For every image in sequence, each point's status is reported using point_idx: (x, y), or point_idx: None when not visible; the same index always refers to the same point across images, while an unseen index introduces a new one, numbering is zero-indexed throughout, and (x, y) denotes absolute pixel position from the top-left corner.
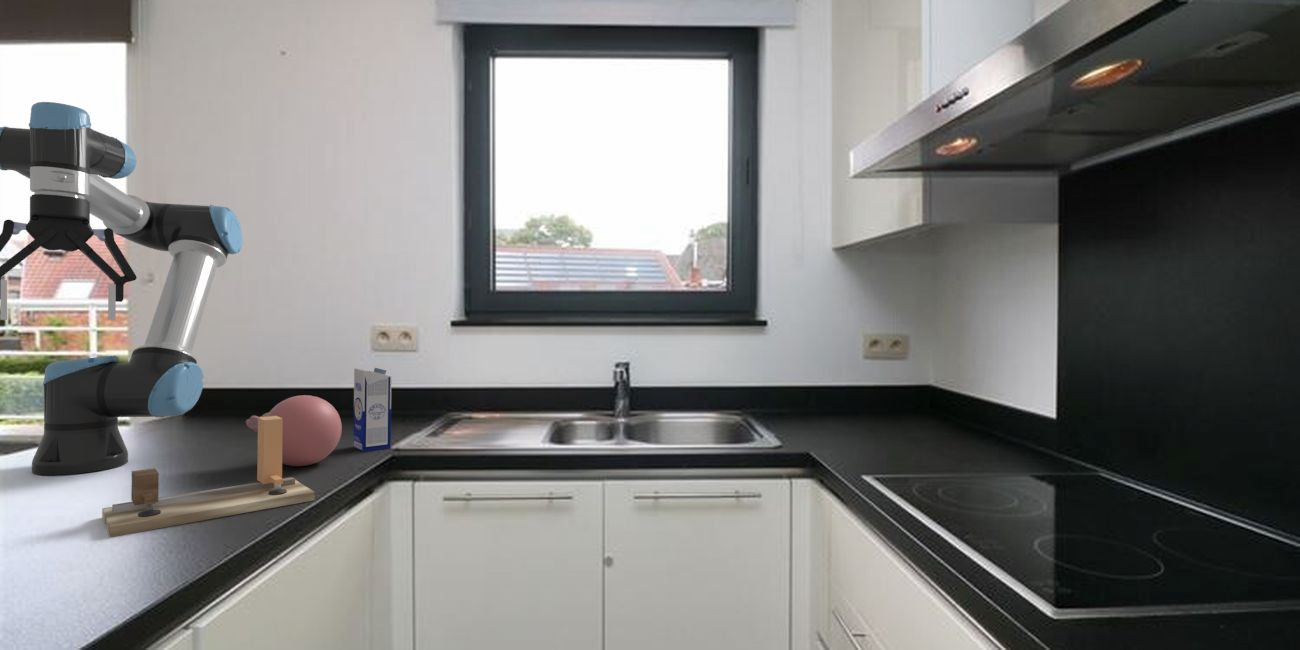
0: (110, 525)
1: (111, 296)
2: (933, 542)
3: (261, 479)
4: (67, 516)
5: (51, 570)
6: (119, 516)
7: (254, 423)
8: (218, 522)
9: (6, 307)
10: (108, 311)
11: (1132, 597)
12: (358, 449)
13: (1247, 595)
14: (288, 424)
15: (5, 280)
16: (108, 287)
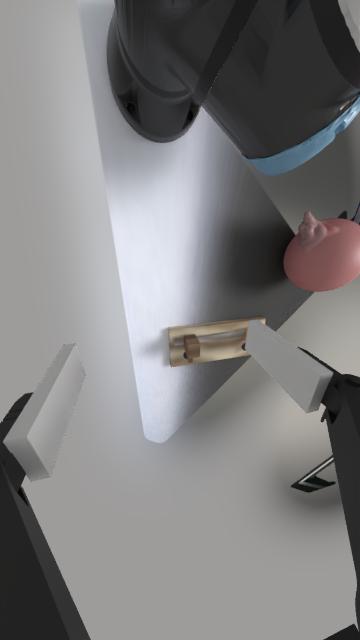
0: (171, 365)
1: (281, 383)
2: (329, 458)
3: (246, 337)
4: (152, 313)
5: (150, 394)
6: (175, 351)
7: (304, 233)
8: (211, 364)
9: (77, 396)
10: (259, 334)
11: (315, 481)
12: (354, 217)
13: (325, 485)
14: (308, 286)
15: (46, 477)
16: (309, 372)
